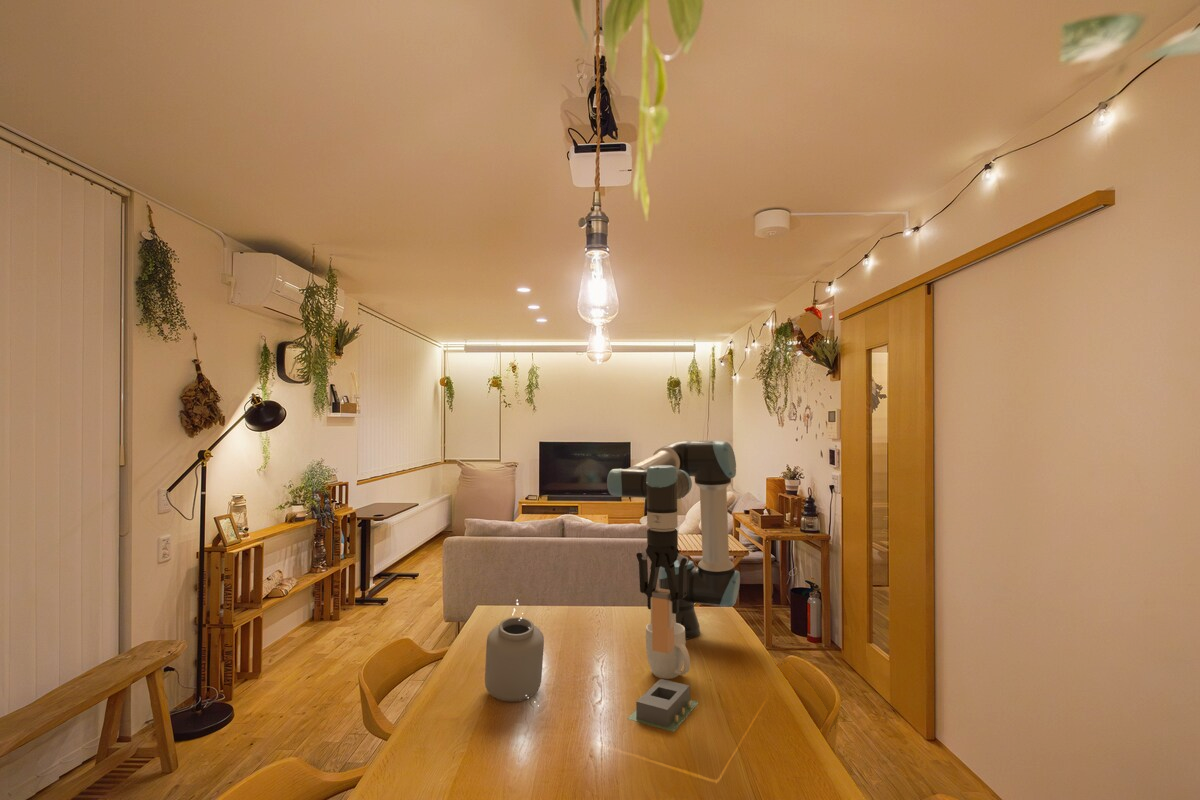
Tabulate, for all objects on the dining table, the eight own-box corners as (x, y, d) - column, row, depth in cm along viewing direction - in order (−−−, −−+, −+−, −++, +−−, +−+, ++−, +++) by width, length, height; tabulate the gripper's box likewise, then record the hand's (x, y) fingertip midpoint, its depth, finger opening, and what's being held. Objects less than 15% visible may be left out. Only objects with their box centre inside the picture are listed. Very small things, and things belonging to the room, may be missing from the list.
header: (655, 693, 150) (654, 675, 150) (698, 704, 144) (698, 685, 144) (626, 720, 136) (626, 701, 136) (674, 734, 130) (673, 713, 130)
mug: (703, 682, 156) (703, 633, 157) (672, 693, 150) (672, 642, 151) (668, 663, 168) (667, 618, 169) (638, 672, 162) (637, 625, 163)
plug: (659, 645, 143) (658, 588, 144) (674, 648, 141) (674, 590, 142) (652, 650, 140) (651, 592, 141) (667, 653, 138) (667, 594, 138)
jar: (553, 706, 143) (553, 604, 144) (495, 718, 137) (495, 612, 138) (532, 676, 161) (532, 585, 162) (479, 685, 155) (480, 591, 156)
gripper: (624, 528, 143) (625, 623, 142) (689, 534, 134) (690, 635, 133) (637, 523, 149) (638, 614, 148) (700, 529, 141) (701, 625, 140)
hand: (663, 624), depth 141 cm, fingers closed on plug, 4 cm apart
